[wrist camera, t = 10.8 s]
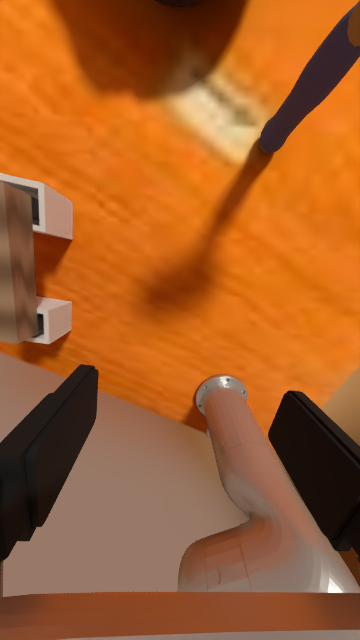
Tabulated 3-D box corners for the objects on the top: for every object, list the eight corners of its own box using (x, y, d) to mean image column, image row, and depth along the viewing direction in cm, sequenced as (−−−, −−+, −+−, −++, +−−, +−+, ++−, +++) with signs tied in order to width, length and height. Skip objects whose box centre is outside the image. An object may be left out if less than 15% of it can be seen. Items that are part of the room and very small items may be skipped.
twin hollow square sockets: (71, 329, 36) (49, 344, 29) (35, 324, 35) (4, 338, 29) (72, 201, 29) (43, 183, 23) (28, 192, 29) (-15, 169, 22)
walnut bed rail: (50, 327, 32) (18, 343, 25) (29, 324, 31) (-9, 340, 25) (46, 203, 26) (3, 181, 19) (21, 198, 26) (-32, 174, 19)
